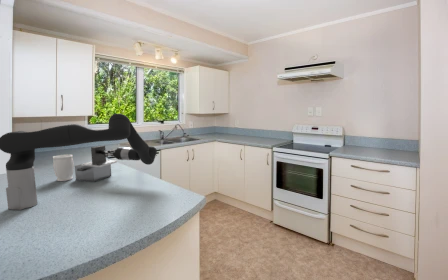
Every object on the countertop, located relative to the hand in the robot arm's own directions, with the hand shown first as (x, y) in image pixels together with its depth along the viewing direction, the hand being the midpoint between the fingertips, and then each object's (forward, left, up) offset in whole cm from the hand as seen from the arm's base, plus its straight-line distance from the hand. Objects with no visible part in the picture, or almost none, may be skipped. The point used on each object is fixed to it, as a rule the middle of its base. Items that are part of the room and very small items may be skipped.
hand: (102, 152), depth 147 cm
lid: (0, +2, -7) cm, 8 cm away
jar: (-5, +23, -17) cm, 29 cm away
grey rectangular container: (0, +7, -17) cm, 18 cm away
